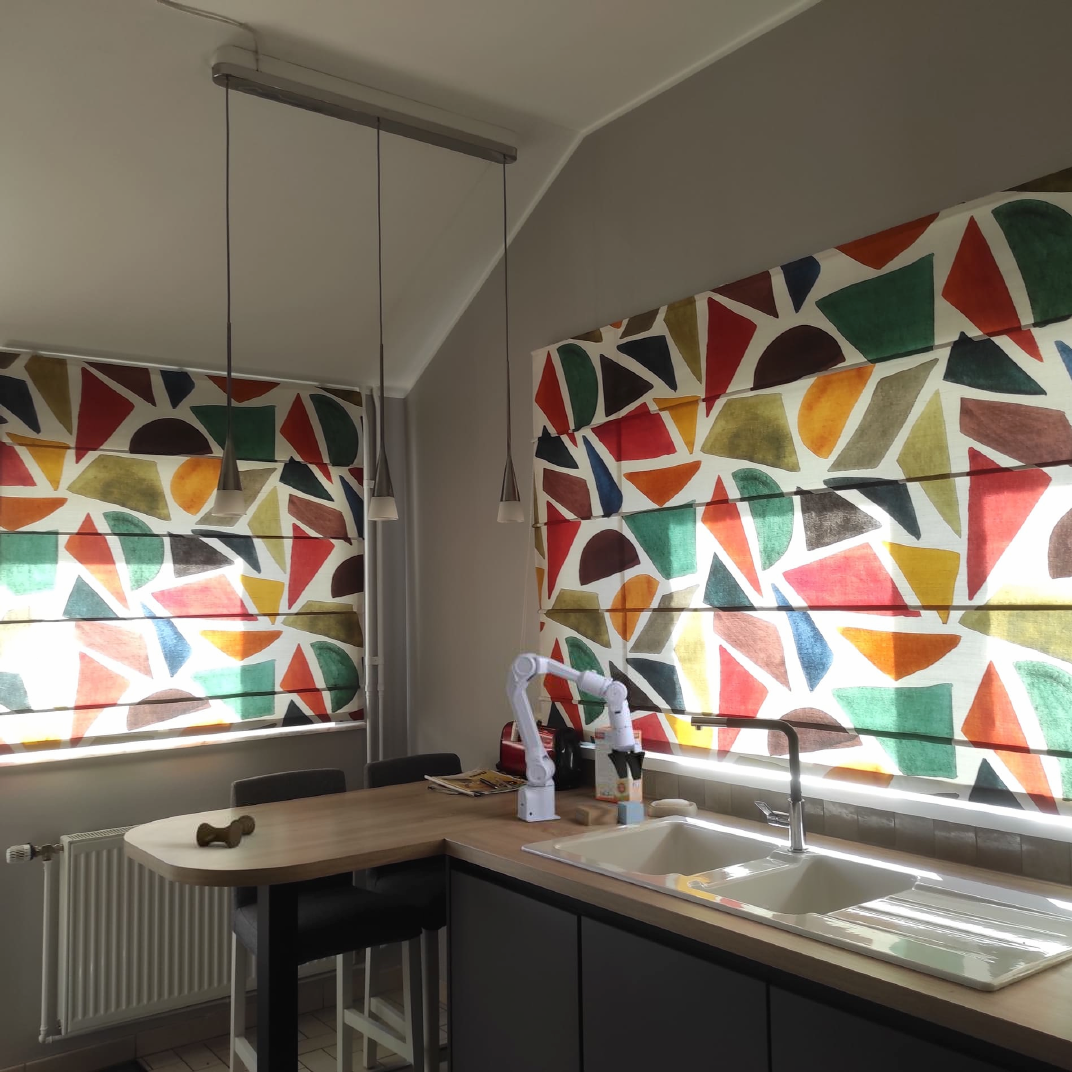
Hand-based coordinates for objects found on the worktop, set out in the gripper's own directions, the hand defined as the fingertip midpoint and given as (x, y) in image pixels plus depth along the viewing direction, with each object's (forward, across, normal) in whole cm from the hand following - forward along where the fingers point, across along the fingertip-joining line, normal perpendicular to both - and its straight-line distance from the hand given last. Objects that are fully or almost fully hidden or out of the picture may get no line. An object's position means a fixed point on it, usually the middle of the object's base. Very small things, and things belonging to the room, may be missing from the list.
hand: (630, 778), depth 261 cm
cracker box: (+10, +27, -9) cm, 30 cm away
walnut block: (+10, +4, +10) cm, 15 cm away
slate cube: (+11, 0, +2) cm, 11 cm away
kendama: (-3, +22, +100) cm, 103 cm away
